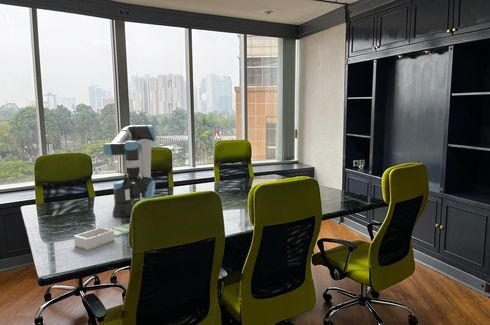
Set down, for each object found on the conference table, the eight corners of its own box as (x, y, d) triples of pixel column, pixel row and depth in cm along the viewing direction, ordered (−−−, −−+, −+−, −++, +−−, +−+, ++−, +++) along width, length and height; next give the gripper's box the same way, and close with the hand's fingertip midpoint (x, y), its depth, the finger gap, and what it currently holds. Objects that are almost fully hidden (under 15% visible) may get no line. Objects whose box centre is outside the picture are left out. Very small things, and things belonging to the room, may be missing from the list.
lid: (103, 233, 213) (102, 220, 212) (133, 223, 230) (132, 211, 229) (116, 236, 207) (115, 224, 206) (145, 226, 224) (144, 214, 223)
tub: (75, 246, 193) (74, 235, 192) (101, 237, 206) (101, 227, 205) (87, 250, 187) (86, 239, 186) (114, 241, 200) (113, 230, 199)
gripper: (114, 166, 224) (116, 199, 228) (142, 169, 210) (144, 205, 214) (124, 164, 230) (126, 197, 234) (152, 167, 216) (154, 202, 220)
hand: (135, 201), depth 224 cm, fingers open, 13 cm apart
